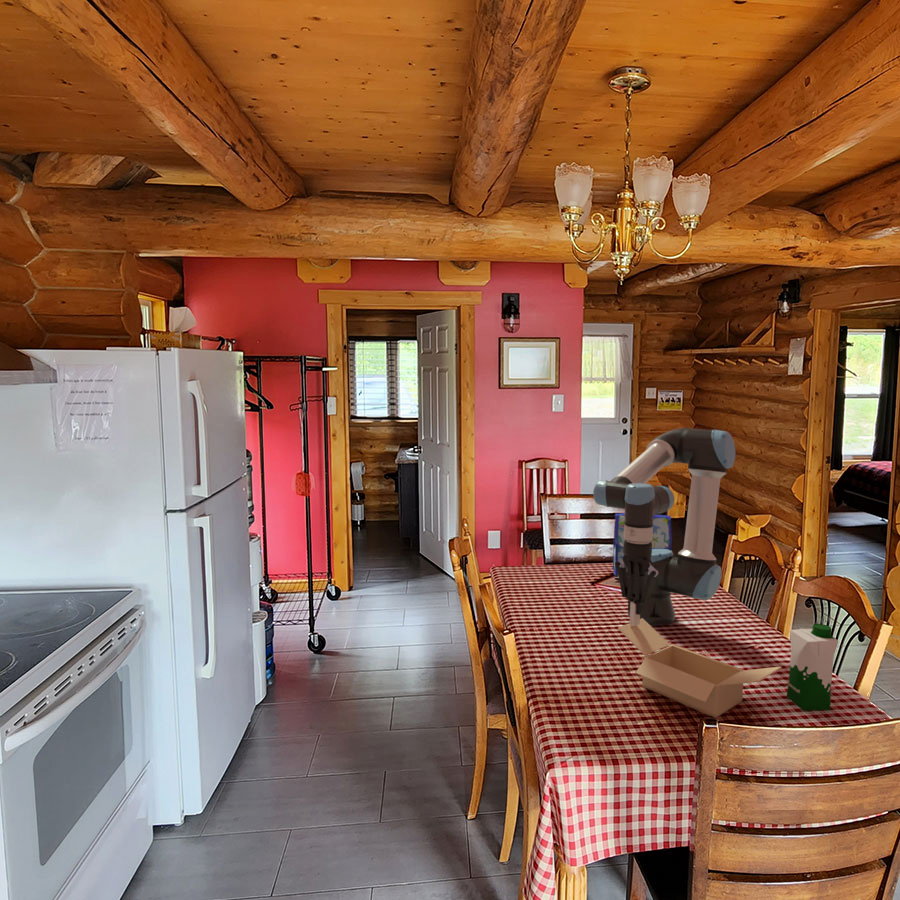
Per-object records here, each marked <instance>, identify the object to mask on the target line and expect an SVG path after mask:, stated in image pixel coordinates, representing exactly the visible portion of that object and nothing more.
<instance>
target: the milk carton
mask: <svg viewBox="0 0 900 900" xmlns="http://www.w3.org/2000/svg"><path fill="white" fill-rule="evenodd" d="M789 636H790V661H789V673H788V675H789V676H788V684H787V693H786V698H787V699H788V700H789V701H791V702H792V703H793V704H795V706H797V707H798V708H799V709H801V710H802V711H803V712H804V711H805V712H808V711H811V712H812V711H831V710H832V709H831V708H832V707H831V704H832V701H831V700H832V681H833V668H834V667H833V665H834V656H835V653H836V650H837V647H838V644H839V639H836V638H835V637H834V636H833V635H832V627H831V626H829V625H827V624H824V623H823V624H822V623H814V624H812V628H799V629H789Z"/></svg>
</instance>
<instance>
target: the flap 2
mask: <svg viewBox="0 0 900 900" xmlns="http://www.w3.org/2000/svg"><path fill="white" fill-rule="evenodd" d="M781 669H783V668H782V666H774V667H772V666H771V667H763V668H756V669H755V668H754V669H746V670H744V669H743V670H744V671H741V672H740V673H738V674H736V675H734V676H733V677H731V678H729V679H727V680H726V681H724V682H722V683H721V684H720V685H729V684H740V683H743V684H748V683H749V684H750V683H760V682H761V681H763V680H764V679H766V678H768V677H770V676H771V675H773V674H775V673H776V672H777V671H779V670H781Z"/></svg>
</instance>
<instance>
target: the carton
mask: <svg viewBox="0 0 900 900" xmlns="http://www.w3.org/2000/svg"><path fill="white" fill-rule="evenodd" d="M741 671H744V669H742V668H741V667H737V666H734V665H732V664H729V663H726V662H724V661H720V660H717V659H715V658H712V657H709V656H707V655H704V654H702V653H699V652H696V651H692V650H690V649H687V648H684V647H682V646H679V645H676V644H669V645H668V646H665V647H663V648H661V649H659V650H657V651H655V652H652V653H650V654H648V655H646V656H644V657H643V661H642V663H641V664H640V666H639V667H638V668H637V670H636V672H635V674H637V675H638V676H640V677H642V683H641V684H642V688H644V689H647V690H650V691H651V692H652V691H653V692H655V693H657V694H658V695H661V696H664V697H666V698H668V699H670V700H672V701H674V702H677V703H680V704H682V705H684V706H686V707H689V708H690V709H693V710H696V711H698V712H700V713H702V714H704V715H707V716H710V717H712V718H713V719H717V718H718V717H720V716H721V715H723V714H724V713H726V712H728V711H729V710H731V709H732V708H734V707H735V706H737V705H738V704H740V703H741V702H743V695H744V683H740V684H729V685H720V684H721V683H722V682H724V681H726V680H727V679H729V678H731V677H733V676H734V675H736V674H738V673H740V672H741Z"/></svg>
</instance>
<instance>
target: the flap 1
mask: <svg viewBox="0 0 900 900" xmlns="http://www.w3.org/2000/svg"><path fill="white" fill-rule="evenodd" d="M617 629H618V631H619V632H621V633H622V634H623V635H624V636H625V638H627V640H629V642H630V643H631V644H633V645H634V646H635V647H636V648H637V650H639V652H641V653H642V654H643V656H644V657H646V656H648V655H650V654H652V653H654V652H657V651H659V650H661V649H663V648H665V647H667V646H670V643H669V642H668V640H667V639H666V638H664V637H663V636H662V635H661V634H660V632H658V631H657V630H656V629H655V628H654V627H653V626H652V625H649V624H648V623H647V622H646V621H645V620H644V619H643V618H641V619H640V624H639V625H636V626H631V625H630V622H629V623H627V624H624V625H621V626H619V627H617Z"/></svg>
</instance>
